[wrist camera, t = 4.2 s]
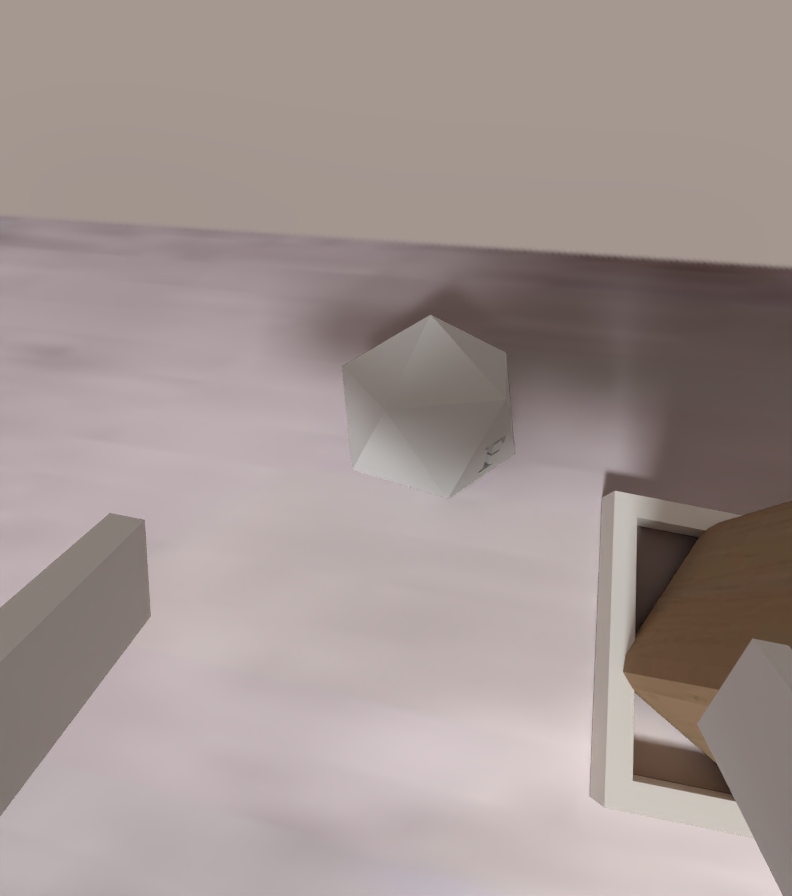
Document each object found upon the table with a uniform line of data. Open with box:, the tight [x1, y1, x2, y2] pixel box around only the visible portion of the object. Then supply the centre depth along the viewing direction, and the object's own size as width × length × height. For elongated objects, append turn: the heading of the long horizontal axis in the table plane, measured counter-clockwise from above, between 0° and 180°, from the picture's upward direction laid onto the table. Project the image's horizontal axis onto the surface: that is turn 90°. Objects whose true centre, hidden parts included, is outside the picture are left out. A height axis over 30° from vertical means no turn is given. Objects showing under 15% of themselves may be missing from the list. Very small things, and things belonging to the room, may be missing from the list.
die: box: [342, 315, 515, 499], centre depth 24 cm, size 8×9×10 cm
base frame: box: [590, 491, 754, 838], centre depth 24 cm, size 14×14×2 cm
